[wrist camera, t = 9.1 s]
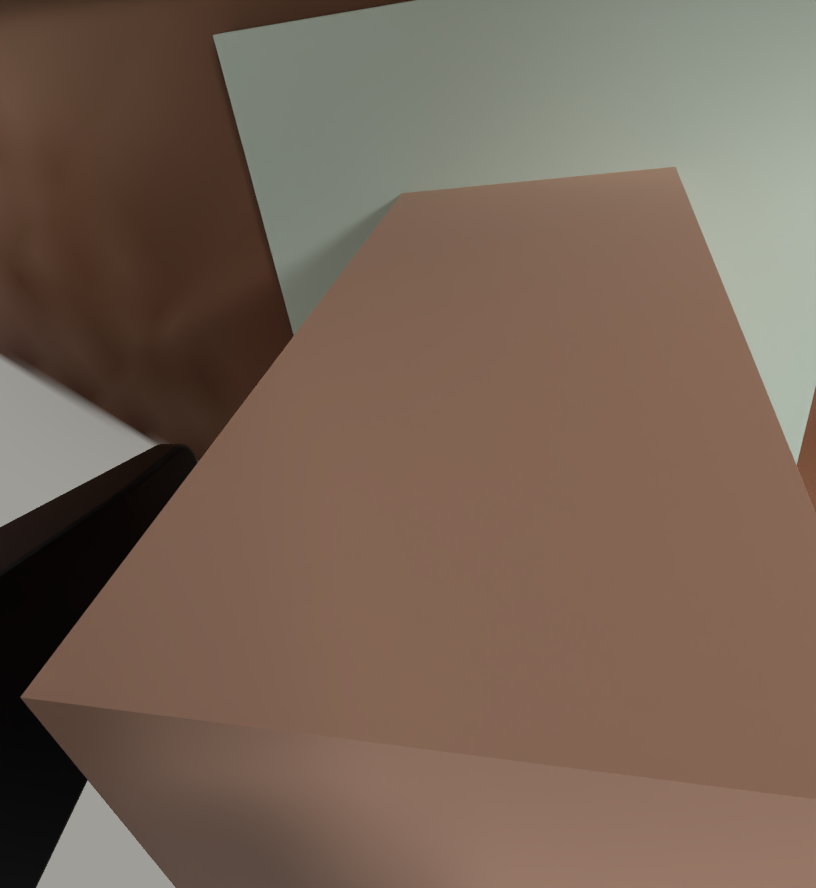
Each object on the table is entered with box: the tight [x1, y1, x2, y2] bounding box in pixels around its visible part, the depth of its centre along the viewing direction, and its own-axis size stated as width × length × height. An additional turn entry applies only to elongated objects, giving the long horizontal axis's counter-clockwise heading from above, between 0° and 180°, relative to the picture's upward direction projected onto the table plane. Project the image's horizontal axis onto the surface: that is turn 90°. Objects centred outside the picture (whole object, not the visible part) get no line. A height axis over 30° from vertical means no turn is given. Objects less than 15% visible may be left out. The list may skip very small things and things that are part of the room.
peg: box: [20, 167, 816, 888], centre depth 8 cm, size 4×4×10 cm
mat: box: [213, 0, 816, 465], centre depth 12 cm, size 10×10×1 cm
